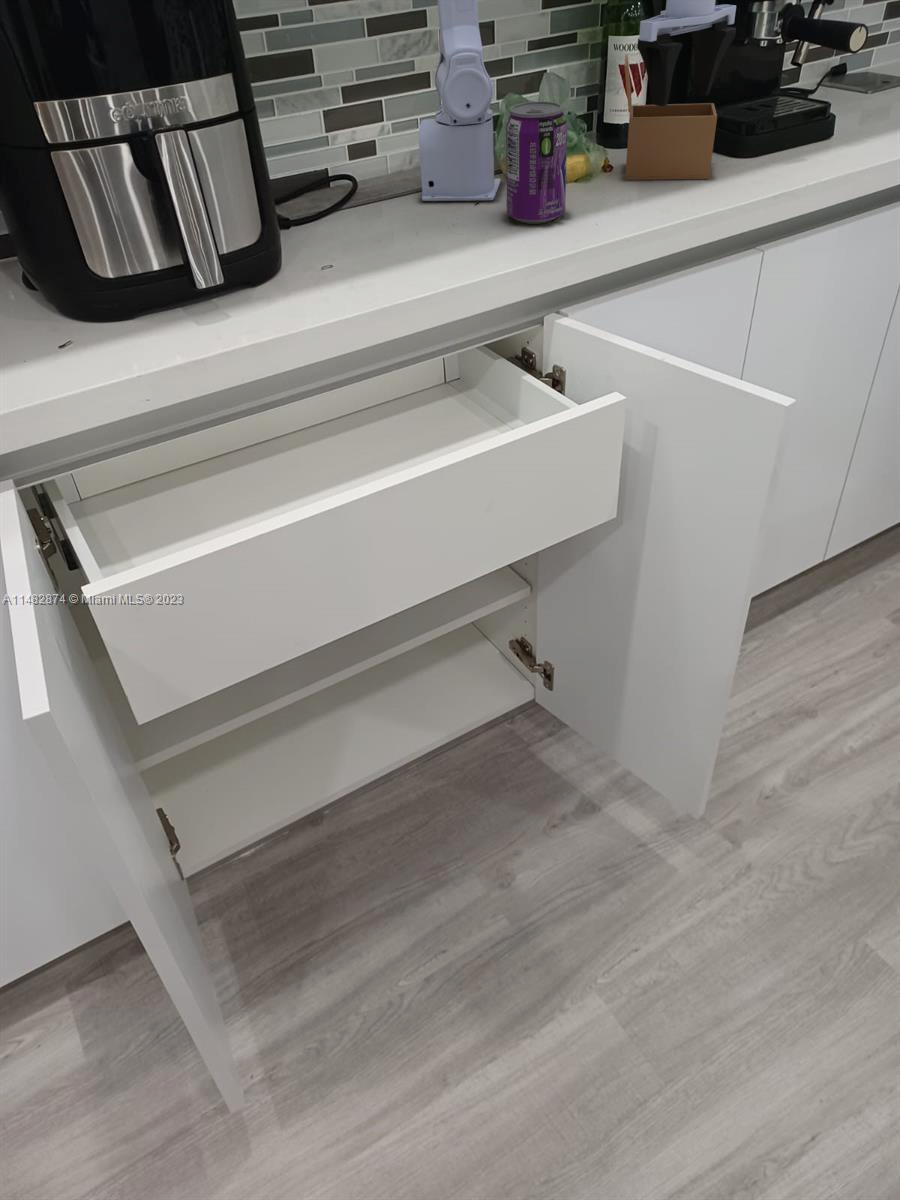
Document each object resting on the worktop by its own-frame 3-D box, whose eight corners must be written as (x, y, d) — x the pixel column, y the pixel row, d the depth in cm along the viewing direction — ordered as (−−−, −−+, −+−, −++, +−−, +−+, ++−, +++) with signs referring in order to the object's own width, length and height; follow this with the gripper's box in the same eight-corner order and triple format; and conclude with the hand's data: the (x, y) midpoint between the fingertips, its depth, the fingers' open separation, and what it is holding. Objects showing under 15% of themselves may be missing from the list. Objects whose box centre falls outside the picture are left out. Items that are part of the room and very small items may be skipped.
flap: (631, 112, 110) (628, 112, 110) (631, 99, 115) (629, 100, 115) (627, 65, 107) (624, 66, 107) (627, 54, 112) (625, 55, 112)
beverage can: (561, 227, 103) (564, 114, 95) (502, 226, 105) (500, 115, 97) (567, 207, 108) (570, 99, 101) (511, 207, 110) (510, 100, 102)
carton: (625, 180, 116) (629, 118, 111) (626, 165, 121) (630, 105, 116) (709, 179, 114) (717, 116, 109) (706, 164, 119) (713, 103, 114)
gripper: (710, -41, 107) (696, 84, 116) (625, -27, 101) (616, 104, 110) (756, -38, 103) (737, 92, 112) (669, -23, 97) (657, 113, 106)
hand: (680, 99), depth 111 cm, fingers open, 7 cm apart
